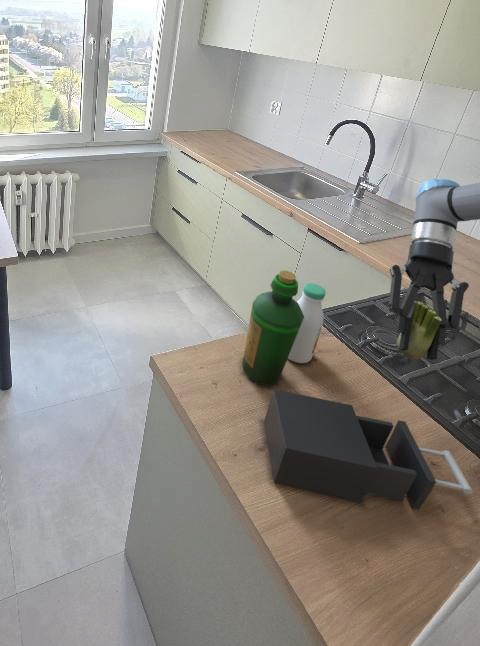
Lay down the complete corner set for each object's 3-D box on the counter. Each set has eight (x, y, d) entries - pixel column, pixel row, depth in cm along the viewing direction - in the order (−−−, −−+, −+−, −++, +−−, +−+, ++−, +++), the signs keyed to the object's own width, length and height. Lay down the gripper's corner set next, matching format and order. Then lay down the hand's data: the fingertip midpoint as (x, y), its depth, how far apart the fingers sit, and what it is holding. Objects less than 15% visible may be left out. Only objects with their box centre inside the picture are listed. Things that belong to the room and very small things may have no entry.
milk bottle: (303, 369, 101) (325, 303, 93) (273, 351, 106) (291, 286, 98) (316, 353, 106) (338, 289, 98) (287, 337, 111) (305, 274, 103)
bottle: (254, 348, 107) (278, 255, 95) (293, 376, 99) (325, 279, 87) (228, 367, 101) (251, 270, 89) (267, 398, 93) (297, 297, 82)
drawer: (435, 457, 81) (450, 430, 78) (469, 522, 71) (489, 493, 68) (318, 432, 85) (329, 406, 82) (335, 490, 75) (348, 462, 71)
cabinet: (338, 437, 85) (352, 404, 81) (360, 503, 74) (377, 468, 70) (263, 421, 88) (273, 389, 84) (273, 482, 76) (285, 448, 72)
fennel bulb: (425, 366, 85) (447, 320, 80) (397, 358, 87) (417, 313, 82) (418, 347, 90) (438, 303, 85) (391, 340, 92) (410, 296, 87)
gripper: (472, 262, 90) (461, 371, 84) (380, 241, 97) (363, 340, 91) (490, 253, 84) (480, 370, 77) (390, 231, 91) (373, 336, 84)
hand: (417, 354), depth 84 cm, fingers closed on fennel bulb, 4 cm apart
